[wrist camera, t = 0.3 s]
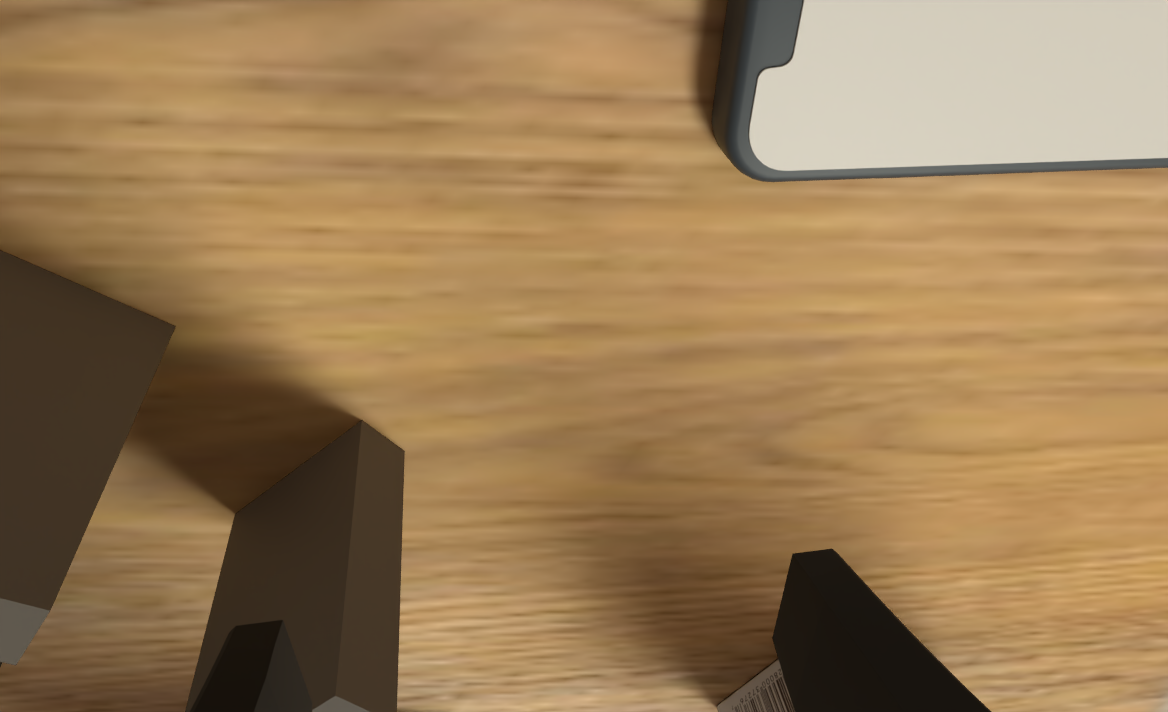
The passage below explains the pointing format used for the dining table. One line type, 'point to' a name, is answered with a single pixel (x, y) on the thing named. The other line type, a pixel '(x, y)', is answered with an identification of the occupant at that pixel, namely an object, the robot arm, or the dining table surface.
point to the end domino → (322, 573)
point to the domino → (59, 427)
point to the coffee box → (761, 694)
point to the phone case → (941, 87)
